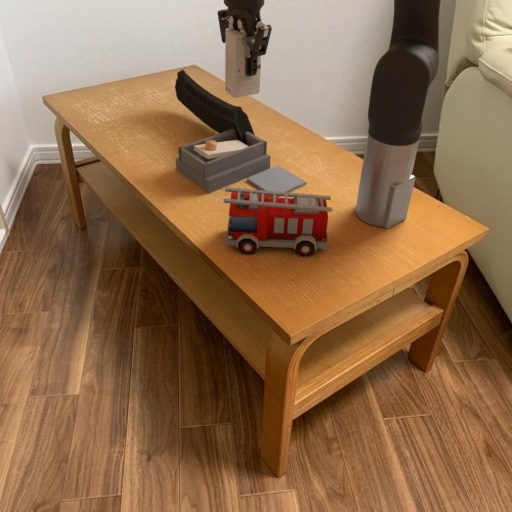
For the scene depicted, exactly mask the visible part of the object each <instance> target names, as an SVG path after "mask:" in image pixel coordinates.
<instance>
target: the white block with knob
mask: <svg viewBox="0 0 512 512" xmlns="http://www.w3.org/2000/svg"><path fill="white" fill-rule="evenodd" d="M246 147H249V146H247V145H246V144H244V143H242V142H241V141H239V140H232V141H224V142H216V141H214V140H206V143H205V144H202V145H195V146H194V151H196V152H197V153H199V154H201V155H202V156H204V157H205V158H207V159H211V158H217V157H222V156H225V155H227V154H230V153H233V152H235V151H238V150H241V149H243V148H246Z"/></svg>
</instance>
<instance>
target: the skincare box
mask: <svg viewBox="0 0 512 512" xmlns="http://www.w3.org/2000/svg"><path fill="white" fill-rule="evenodd" d="M225 33H226V40H225V43H224V44H225V48H224V49H225V52H224V53H225V57H224V59H225V61H224V65H225V66H224V77H225V78H224V80H225V81H224V91H225V92H226V93H227V94H228V95H229V96H231V97H232V98H234V99H236V98H242V97H248V96H252V95H258V94H259V93H260V90H261V89H260V87H261V86H260V85H261V71H262V70H261V66H262V56H258V64H257V73H256V75H254V76H250V77H249V76H247V75H246V57H247V56H246V50H245V46H244V45H243V44H242V35H241V33H240V32H238V31H236V30H228V29H226V32H225ZM255 36H256V35H255V34H254V36H252V37H248V40H250V39H254V38H255ZM259 49H261V46H260V48H259ZM251 50H253V44H251Z"/></svg>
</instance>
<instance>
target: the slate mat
mask: <svg viewBox="0 0 512 512" xmlns="http://www.w3.org/2000/svg"><path fill="white" fill-rule="evenodd" d="M246 181H247V182H249V184H251V185H253V186H255V187H256V188H258V190H264V191H276V192H288V193H291V192H292V191H295V190H297V189H299V188H301V187H305V186H306V185H307V181H306V180H304V179H302V178H301V177H298V176H296V175H295V174H294V173H292V172H291V171H288V170H287V169H285V168H283V167H281V166H280V165H276V166H274V167H270V168H269V169H267V170H264V171H262V172H260V173H257V174H255V175H252V176H250V177H247V178H246ZM269 196H270V197H271V198H273V195H269ZM276 198H280V196H276Z"/></svg>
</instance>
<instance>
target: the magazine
mask: <svg viewBox="0 0 512 512" xmlns="http://www.w3.org/2000/svg"><path fill="white" fill-rule="evenodd" d="M176 75H177V77H176V79H175V84H174V89H175V93H176V94H175V95H176V99H177V100H178V101H179V102H180V103H181V104H182V105H183V106H184V107H185V108H186V109H188V110H189V112H191V113H192V114H193V115H194V116H195V117H197V118H198V119H199V120H200V121H201V122H202V123H203V124H204V125H206V126H208V127H209V128H210V129H212V130H213V131H214V132H216V133H217V134H219V133H222V132H225V131H228V130H231V129H234V130H235V132H236V136H237V140H239V141H241V142H242V143H244V144H246V145H247V141H246V135H245V132H250V133H252V134H253V135H255V136H256V134H255V132H254V129H253V127H252V124H251V121H250V119H249V116H248V114H247V113H246V112H245V111H244V110H243V107H241V106H240V105H238V106H237V105H233V104H230V103H228V102H227V101H225V100H224V99H221V98H220V97H218V96H216V95H214V94H213V93H211V92H210V91H208V90H207V89H206V88H204V87H202V85H200V84H199V83H197V81H196V80H194V79H193V78H192V77H191V76H190V75H189V74H187V72H186V71H185V70H184V69H181V70H179V71H177V73H176Z"/></svg>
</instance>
